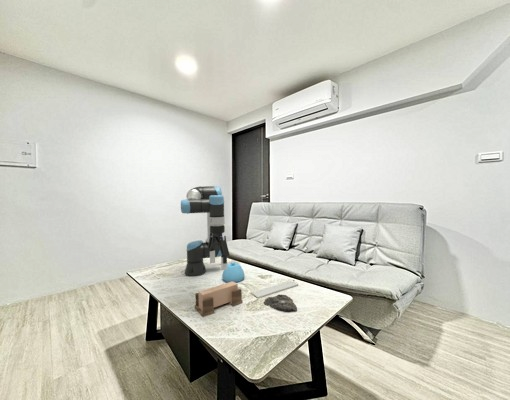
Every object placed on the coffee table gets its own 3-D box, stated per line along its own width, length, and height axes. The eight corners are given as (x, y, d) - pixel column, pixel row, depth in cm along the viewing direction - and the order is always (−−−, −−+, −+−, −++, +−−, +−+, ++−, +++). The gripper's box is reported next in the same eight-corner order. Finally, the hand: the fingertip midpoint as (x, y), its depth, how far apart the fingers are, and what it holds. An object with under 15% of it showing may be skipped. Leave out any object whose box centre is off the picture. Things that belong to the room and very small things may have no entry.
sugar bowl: (218, 278, 149) (217, 262, 149) (236, 273, 158) (236, 258, 158) (229, 285, 137) (229, 267, 137) (248, 279, 146) (248, 262, 146)
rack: (194, 308, 110) (194, 293, 110) (232, 295, 122) (232, 283, 122) (202, 317, 101) (202, 301, 101) (242, 302, 114) (242, 289, 114)
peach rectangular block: (198, 307, 108) (198, 291, 108) (233, 295, 120) (232, 281, 120) (203, 311, 104) (202, 295, 104) (238, 298, 116) (237, 284, 116)
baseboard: (248, 293, 127) (257, 299, 118) (248, 288, 127) (257, 294, 118) (287, 281, 143) (298, 286, 134) (287, 277, 143) (298, 282, 134)
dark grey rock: (276, 294, 124) (259, 304, 113) (276, 287, 124) (259, 296, 113) (306, 304, 112) (290, 317, 100) (306, 297, 112) (290, 309, 100)
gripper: (201, 223, 119) (202, 261, 120) (221, 228, 99) (222, 274, 99) (213, 222, 124) (214, 259, 124) (235, 226, 103) (236, 271, 104)
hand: (218, 266), depth 112 cm, fingers open, 13 cm apart
